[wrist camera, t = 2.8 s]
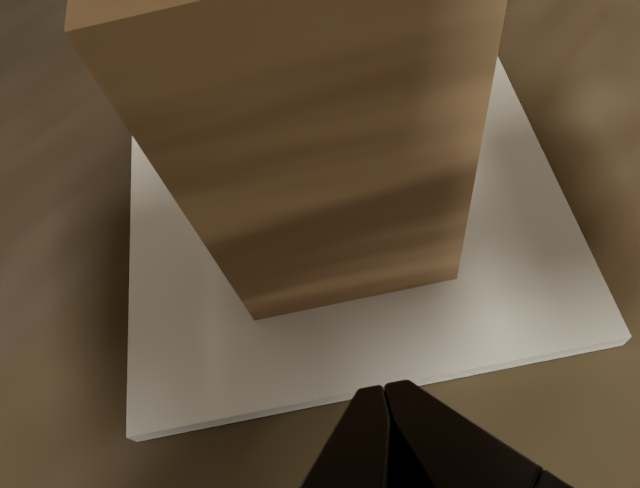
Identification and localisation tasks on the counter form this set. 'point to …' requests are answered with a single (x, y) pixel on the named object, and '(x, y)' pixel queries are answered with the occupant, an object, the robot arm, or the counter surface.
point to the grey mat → (363, 303)
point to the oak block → (306, 132)
